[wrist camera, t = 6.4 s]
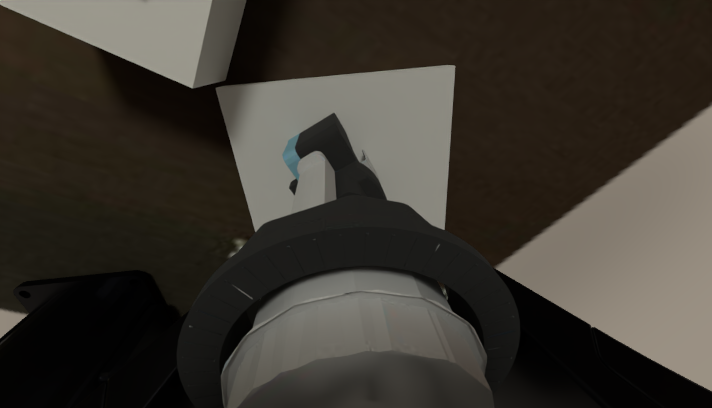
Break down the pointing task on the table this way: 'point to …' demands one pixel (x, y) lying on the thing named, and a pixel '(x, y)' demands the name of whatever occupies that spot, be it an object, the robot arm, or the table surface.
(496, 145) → the table surface
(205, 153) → the table surface
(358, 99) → the rubber mat
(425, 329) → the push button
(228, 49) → the power strip
